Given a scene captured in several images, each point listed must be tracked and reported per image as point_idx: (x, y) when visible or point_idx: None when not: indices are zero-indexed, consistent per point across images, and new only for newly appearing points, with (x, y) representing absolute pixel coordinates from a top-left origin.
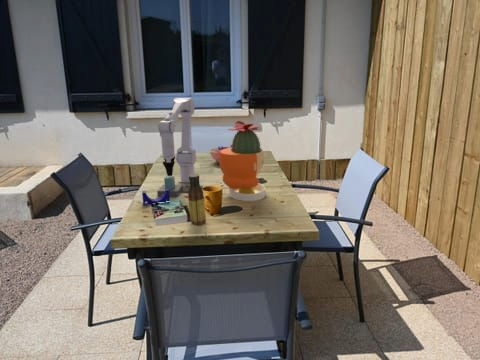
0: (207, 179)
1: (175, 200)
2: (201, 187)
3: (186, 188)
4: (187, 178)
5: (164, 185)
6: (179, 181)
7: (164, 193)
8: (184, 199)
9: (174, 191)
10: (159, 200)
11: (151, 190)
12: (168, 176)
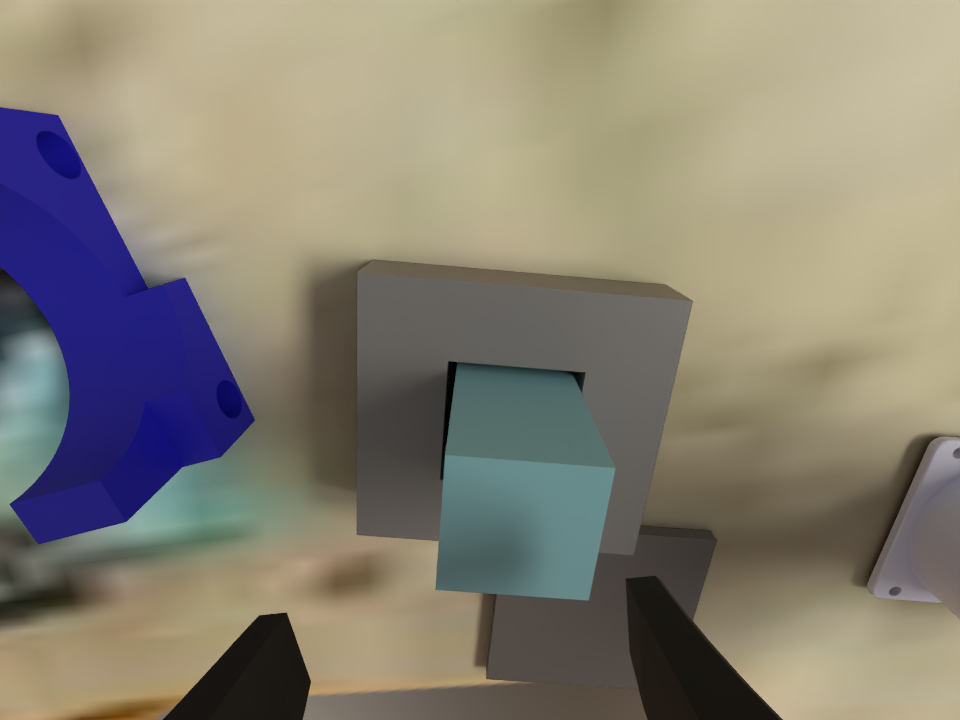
0: (940, 698)
1: (228, 490)
2: (620, 684)
3: (608, 560)
4: (939, 569)
5: (641, 330)
6: (941, 451)
7: (131, 431)
8: (269, 566)
9: (357, 499)
10: (64, 355)
11: (644, 107)
12: (577, 509)
